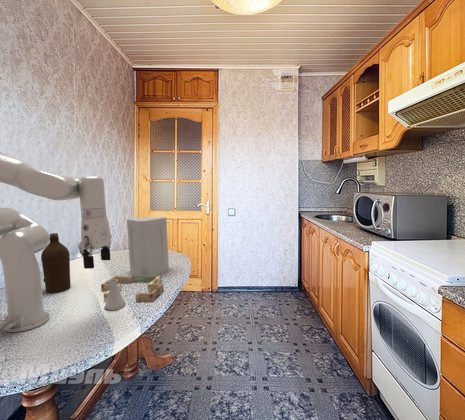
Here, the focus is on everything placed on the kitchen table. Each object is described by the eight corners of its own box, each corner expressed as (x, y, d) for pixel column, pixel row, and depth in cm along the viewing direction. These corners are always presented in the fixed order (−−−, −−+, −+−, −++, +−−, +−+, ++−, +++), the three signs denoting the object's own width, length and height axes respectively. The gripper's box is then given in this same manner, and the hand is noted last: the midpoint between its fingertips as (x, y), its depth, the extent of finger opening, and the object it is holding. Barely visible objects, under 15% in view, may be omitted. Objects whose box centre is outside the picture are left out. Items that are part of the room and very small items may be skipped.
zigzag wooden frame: (151, 302, 110) (151, 294, 110) (87, 300, 114) (86, 293, 113) (172, 281, 133) (172, 275, 133) (117, 280, 137) (117, 274, 136)
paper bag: (125, 280, 137) (121, 222, 135) (132, 271, 152) (128, 218, 150) (166, 277, 140) (163, 220, 137) (169, 268, 154) (166, 216, 152)
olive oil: (77, 285, 132) (73, 231, 130) (61, 294, 122) (56, 235, 120) (55, 285, 133) (50, 231, 131) (38, 293, 123) (32, 235, 121)
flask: (118, 311, 103) (116, 284, 102) (100, 310, 105) (98, 283, 104) (129, 303, 110) (127, 277, 109) (112, 302, 112) (110, 277, 111)
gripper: (88, 216, 87) (93, 271, 89) (117, 210, 104) (121, 257, 106) (65, 217, 88) (70, 271, 89) (98, 211, 105) (102, 257, 107)
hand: (97, 263), depth 98 cm, fingers open, 9 cm apart
